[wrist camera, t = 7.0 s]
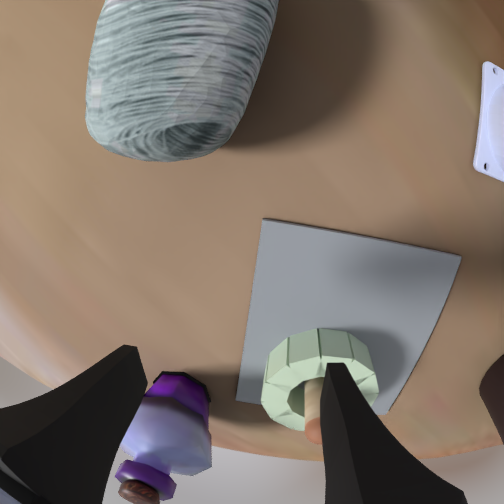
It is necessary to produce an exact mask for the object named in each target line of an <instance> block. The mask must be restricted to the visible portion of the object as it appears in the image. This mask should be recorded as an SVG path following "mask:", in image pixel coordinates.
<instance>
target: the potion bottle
mask: <svg viewBox="0 0 504 504" xmlns="http://www.w3.org/2000/svg"><path fill="white" fill-rule="evenodd" d="M153 384H154V385H153V386H152V387H151V388H150V389H149V390H148V391H147V392H146V393H145V394H144V396H143V399H142V402H141V404H140V406H139V409H138V410H137V412H136V414H135V416H134V418H133V420H132V422H131V424H130V426H129V428H128V430H127V432H126V434H125V436H124V438H123V440H122V442H121V444H120V447H121V448H122V450H123V451H124V452H125V453H127V454H128V455H130V456H132V457H134V459H133V461H131V460H125V461H124V462H123V463H121V464H120V466H119V468H118V471H117V473H116V475H115V477H116V478H117V479H118V480H119V481H120V482H121V483H122V484H121V486H120V489H119V491H118V493H119V495H120V496H121V497H123V498H124V499H126V500H128V501H129V502H132V503H134V504H160V500H163V501H164V500H168V499H171V498H173V494H174V492H175V489H176V483H175V482H174V481H173V480H172V478H171V477H170V476H169V475H170V473H176V474H182V475H189V476H193V475H196V474H198V473H200V472H202V471H204V470H206V469H209V468H210V467H212V461H211V460H212V458H211V457H212V456H211V434H210V432H209V430H208V416H209V403H210V402H211V399H210V397H209V394H208V391H207V388H206V385H204V384H202V383H201V382H199V381H197V380H196V379H194V378H192V377H191V376H189V375H188V374H186V373H184V372H164V371H162V372H161V373H160V374H159V376H158V377H157V378H156V379H155V380H154V382H153Z"/></svg>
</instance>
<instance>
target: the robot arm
mask: <svg viewBox="0 0 504 504" xmlns="http://www.w3.org/2000/svg"><path fill="white" fill-rule="evenodd" d="M493 69H494V71H495V73H494V72H493ZM485 163H486V169H484V164H485ZM473 165H474V168H475V170H477V171H478V172H481V173H483V174H486V175H488V176H491V177H493V178H496V179H498V180H500V181H502V182H504V70H503V69H501V68H499V67H498V66H496V65H494V64H493V63H491V62H484V63H483V66H482V94H481V108H480V119H479V128H478V136H477V143H476V150H475V156H474V162H473ZM147 384H148V382H147V379H146V376H145V372H144V369H143V366H142V363H141V359H140V356H139V352H138V349H137V347H135V346H129V345H123V346H121V347H119V348H118V349H116V350H115V351H113V352H112V353H110V354H109V355H108V356H106V357H105V358H103V359H102V360H100V361H99V362H97V363H96V364H95V365H93V366H92V367H90V368H89V369H87V370H86V371H84V372H83V373H81V374H79V375H78V376H76V377H75V378H73V379H71V380H70V381H68V382H66V383H65V384H63V385H61V386H59V387H58V388H56V389H54V390H52V391H50V392H48V393H45V394H43V395H41V396H39V397H36V398H34V399H31V400H28V401H25V402H23V403H20V404H16V405H13V406H9V407H5V408H0V504H102V501H103V497H104V492H105V488H106V484H107V481H108V477H109V474H110V470H111V467H112V464H113V461H114V458H115V455H116V453H117V450H118V448H119V446H120V444H121V442H122V440H123V438H124V436H125V434H126V432H127V430H128V428H129V426H130V424H131V422H132V420H133V418H134V416H135V414H136V412H137V410H138V409H139V406H140V404H141V402H142V399H143V396H144V394H145V390H146V387H147ZM320 428H321V436H322V445H323V455H324V464H325V476H326V491H325V494H326V495H325V504H468V503H467V500H466V498H465V495H464V492H463V491H462V490H460V489H458V488H457V487H455V486H453V485H452V484H450V483H448V482H446V481H445V480H443V479H442V478H440V477H439V476H437V475H436V474H435V473H433V472H432V471H431V470H429V469H428V468H427V467H426V466H424V465H423V464H422V463H421V462H420V461H419V460H417V459H416V458H415V457H414V456H413V455H412V454H410V453H409V452H408V451H407V450H406V449H405V448H404V447H403V446H402V445H401V444H400V443H399V442H398V440H397V439H396V438H395V437H394V436H393V435H392V434H391V433H390V431H389V430H388V429H387V428H386V427H385V425H384V424H383V423H382V421H381V420H380V419H379V418H378V416H377V415H376V414H375V412H374V411H373V409H372V408H371V406H370V405H369V403H368V402H367V400H366V399H365V397H364V396H363V394H362V393H361V391H360V389H359V388H358V386H357V384H356V383H355V381H354V379H353V377H352V375H351V374H350V372H349V370H348V368H347V366H346V364H345V363H344V362H339V363H327V365H326V371H325V376H324V382H323V387H322V392H321V397H320Z"/></svg>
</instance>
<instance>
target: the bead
mask: <svg viewBox="0 0 504 504" xmlns="http://www.w3.org/2000/svg"><path fill="white" fill-rule="evenodd" d="M339 362H344V363H345V364H346V366H347V368H348V370H349V372H350V374H351V375H352V377H353V379H354V381H355V383H356V384H357V386H358V388H359V389H360V391H361V393H362V394H363V396H364V397H365V399H366V400H367V402H368V403H369V405H370V406H372V405H373V403H374V401H375V400H376V398H377V396H378V394H379V393H378V392H379V389H378V384H377V380H376V375H375V371H374V368H373V364H372V361H371V357H370V354H369V350H368V347H367V346H366V345H365V344H364V343H362V342H361V341H360V340H358V339H357V338H356V337H354V336H353V335H352V334H350V333H347V331H339V330H331V329H323V328H319V331H318V330H317V328H316V329H312V330H309V331H305V332H302V333H299V334H295V335H291V336H290V339H289V338H288V337H287V338H286V339H285V340H284V341H283V342H282V343H280V344H279V345H278V346H277V347H276V348H275V349H274V350H273V351H271V352H270V354H269V355H268V359H267V364H266V368H265V373H264V380H263V388H262V395H261V404H262V405H263V407H264V408H265V410H266V412H267V413H268V415H269V416H270V418H272V420H274V421H276V422H278V423H280V424H282V425H284V426H286V427H288V428H290V429H293V428H294V430H300V431H305V390H303V389H302V388H300V387H298V386H297V385H298V384H300V383H301V382H302V381H305V380H309V379H313V378H317V377H324V376H325V371H326V365H327V363H339Z"/></svg>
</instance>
